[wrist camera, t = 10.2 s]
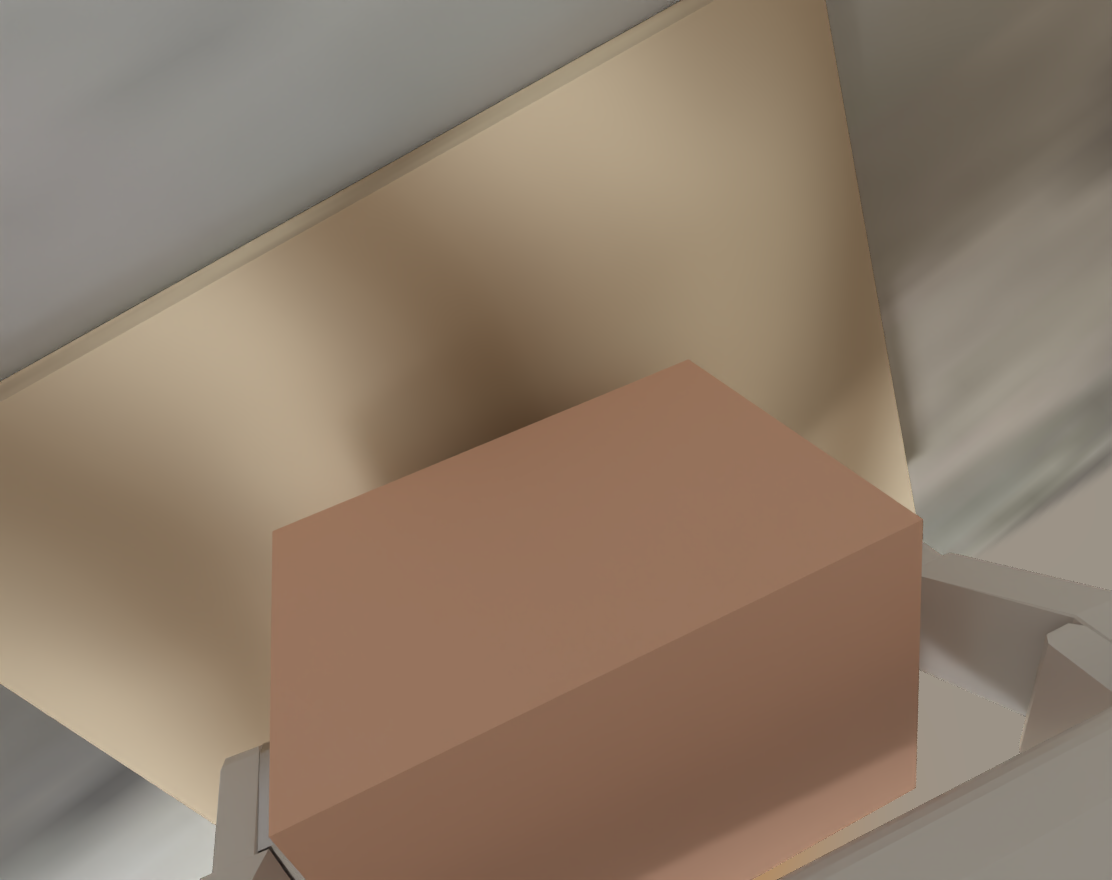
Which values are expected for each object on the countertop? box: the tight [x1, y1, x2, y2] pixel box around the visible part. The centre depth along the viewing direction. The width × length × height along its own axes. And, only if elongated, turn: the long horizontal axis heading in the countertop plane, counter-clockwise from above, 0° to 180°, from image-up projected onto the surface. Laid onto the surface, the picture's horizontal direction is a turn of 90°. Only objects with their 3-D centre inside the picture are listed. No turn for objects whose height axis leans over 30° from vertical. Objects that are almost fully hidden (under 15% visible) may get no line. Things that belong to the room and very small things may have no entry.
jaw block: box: [269, 359, 923, 880], centre depth 10 cm, size 7×5×5 cm
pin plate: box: [0, 0, 916, 825], centre depth 13 cm, size 17×13×5 cm
